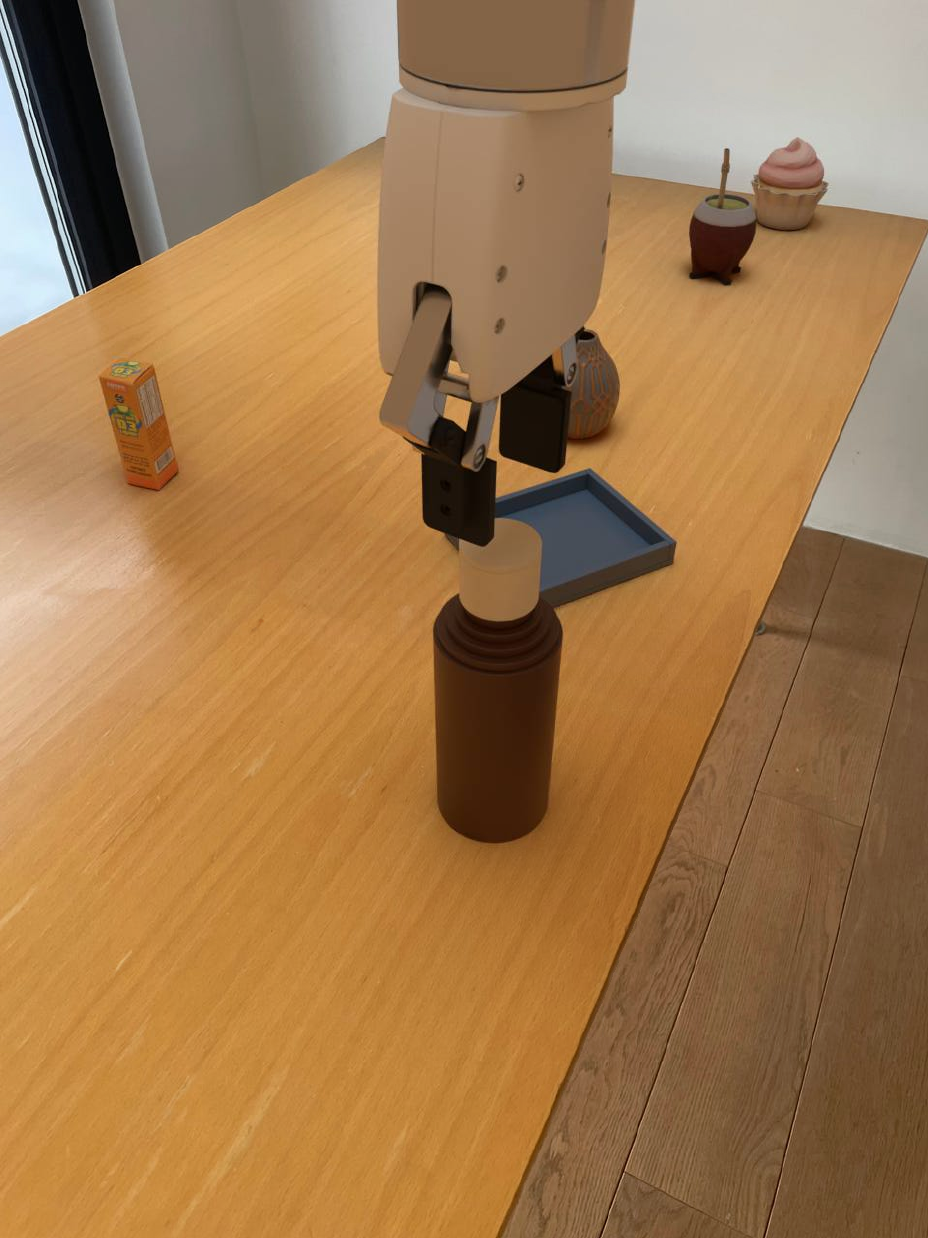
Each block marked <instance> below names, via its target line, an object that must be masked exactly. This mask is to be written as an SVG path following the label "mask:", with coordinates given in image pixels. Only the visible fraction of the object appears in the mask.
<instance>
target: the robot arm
mask: <svg viewBox="0 0 928 1238" xmlns="http://www.w3.org/2000/svg"><path fill="white" fill-rule="evenodd" d="M635 6H636V0H396V23H397V24H396V26H397V28H396V29H397V56H398V57H397V60H398V83H399V84H400V85H401V88H400V89H398V90H397V91H395V92H393V93H392V95H391V99H390V100H391V102H390V106H389V112H388V118H387V124H386V131H385V139H384V146H383V147H384V148H383V156H382V165H381V173H380V174H381V176H380V190H379V192H380V193H379V203H378V204H379V205H378V231H377V265H376V267H377V269H376V271H377V272H376V274H377V275H376V277H377V278H376V281H377V282H376V285H377V286H376V307H377V308H376V310H377V312H376V314H377V344H378V346H377V347H378V355H379V362H380V366H381V369H382V371H383V373H384V374H385V375H387V376H390V377H391V378H390V381H389V384H388V387H387V390H386V393H385V394H384V398H383V401H382V403H381V406H380V409H379V416H378V419H379V423H380V424H381V425H382V426H383V427H385V428H387V429H389V430H390V431H392V432H394V433H395V434H397V435H399V436H401V437H402V438H403V439H404V440H405V441H406V442H408V443H409V444H410V445H411V446H412V449H413V451H414V452H416V453H418V454H420V456H421V457H420V458H421V460H420V461H421V462H420V463H421V464H420V465H421V509H422V512H421V513H422V516H421V517H422V521H423V524H424V525H426V527H428V528H429V529H432V530H435V531H437V532H440V533H442V534H444V535H445V534H448V535H451V536H453V537H456V538H459V539H461V540H464V541H467V542H469V543H472V544H475V545H477V546H480V547H485V546H487V544H488V543H489V542H490V541H491V540H492V539H493V538H494V527H495V501H496V498H497V497H496V496H497V474H498V473H497V471H498V470H497V469H498V461H497V460H495V459H493V458H490V457H488V453H489V448H490V443H491V439H492V434H493V429H494V424H495V421H496V414H497V409H498V405H500V407H499V425H498V427H499V428H498V429H499V430H498V453H499V455H500V456H501V457H503V458H505V459H508V460H511V461H514V462H516V463H520V464H522V465H526V466H529V467H531V468H536V469H538V470H541V471H545V472H547V473H551V474H557V473H559V472H560V471H561V470H562V469H563V468H564V467H565V465H566V459H567V450H568V449H567V448H568V439H569V438H568V427H569V416H570V405H571V394H572V392H571V391H568V390H565V389H562V386H565V387H570V386H571V385H572V384H573V382H574V381H575V378H576V375H577V372H578V358H577V348H576V345H577V342H578V340H579V337H580V335H581V333H582V332H583V331H584V330H585V329H586V327H585V325H586V324H587V323H588V321H589V320H590V318H591V317H592V316H593V314H594V312H595V310H596V308H597V305H598V303H599V298H600V295H601V290H602V283H603V277H604V270H605V263H606V254H607V248H608V247H607V246H608V236H609V224H610V210H611V195H612V176H613V156H614V154H613V153H614V120H615V119H614V116H615V114H614V112H615V111H614V109H615V108H614V107H615V106H614V104H615V100H614V99H615V97H616V96H618V95H621V94H622V93H623V91H624V90H625V89H626V88H627V83H628V82H627V81H628V73H629V72H628V71H629V62H630V55H631V45H632V35H633V27H634V16H635ZM451 361H452V362H455V363H457V364H458V368H459V370H460V373H461V374H465V375H468V377H464V376H461V375H457V374H455V373H451V372H449V368H450V362H451ZM448 396H450V397H453V398H456V399H459V400H461V401H464V402H465V401H466V402H468V403H470V406H469V407H470V408H469V413H468V418H467V424H466V428H465V429H464V428H463V427H461V426H460V425H459V424H458V423H457V422H455V421H454V420H452V419H450V418H446V417H444V413H445V410H446V409H445V408H446V403H447V398H448ZM499 399H500V400H499ZM499 402H500V403H499Z"/></svg>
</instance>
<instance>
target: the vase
mask: <svg viewBox="0 0 928 1238" xmlns="http://www.w3.org/2000/svg"><path fill="white" fill-rule="evenodd" d="M576 348H577V358H578V372H577V375H576V378H575V381H574V382H573V384H572V385H571V386H570V387H565V386H562V389H565V390H568V391H571V392H572V394H571V405H570V416H569V427H568V438H567V439H572V440H585V439H589V438H592V437H594V436H596V435H598V433H600V432H602V431H603V430H604V429H605V428H607V426H608V425H609V424H610V422H611V421H612V420H613V418H614V416H615V414H616V411H617V408H618V404H619V400H620V393H621V392H620V391H621V384H620V383H621V382H620V375H619V371H618V368H617V365H616V364H615V361H614V360H613V358H612V357H611V356H610V354H609V353H608V351H607V349H606V348H605V347H604V345H603V344H602V342H601V339H600V336H599V334H598V333H597V331H595V330H593V329H589V328H585V330H584V331H583V332H582V333H581V335H580V337H579V340H578V342H577V345H576Z"/></svg>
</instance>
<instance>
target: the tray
mask: <svg viewBox="0 0 928 1238" xmlns="http://www.w3.org/2000/svg"><path fill="white" fill-rule="evenodd" d="M495 518H506V519H513V520H517V521H520V522H523V523H525V524H527V525H529V526H531V527H532V528H533V529H534V530H536V531H537V533H538V534H539V535H540V537H541V540H542V554H541V569H540V584H539V596H541V597H542V598H544V599H545V600H546V601H547V602H548V603H549V604H550V605H551V606H552V608H553V609H555V608H557V607H560V606H562V605H564V604H568V603H571V602H573V601H576V600H578V599H581V598H583V597H584V598H585V597H587V596H589V595H592V594H595V593H597V592H601V591H602V590H605V589H608V588H611V587H613V586H616V585H618V584H621V583H624V582H627V581H629V580H632V579H635V578H638V577H640V576H643V575H645V574H648V573H652V572H653V571H656V570H658V569H662V568H664V567H667V566H670V565H672V564H674V560H675V554H676V549H677V544H678V541H677V540H675V539H674V538H673V537H672V536H671V535H669V534H668V533H667V532H666V531H665V530H664V529H662V528H661V526H659V525H658V524H657V523H655V522H654V521H653V520H652V519H651V518H650V517H648V516H647V515H646V514H645V513H644V512H643V511H641V510H640V509H639V508H637V506H635V505H634V504H633V503H632V502H631V501H630V500H628V499H627V498H626V497H625V496H624V495H623V494H622V493H620V492H619V491H618V490H617V489H616V488H615V487H613V486H612V485H611V484H610V483H609V482H607V480H605V479H604V478H603V477H601V476H600V474H598V473H596V471H595V470H593V469H592V468H591V467H589V468H585V469H582V470H578V471H576V472H573V473H569V474H566V475H563V476H560V477H558V478H557V477H556V478H554V479H551V480H548V481H545V482H542V483H538V484H536V485H532V486H529V487H526V488H523V489H520V490H515V491H513V492H510V493H507V494H504V495H501V496H497V497H496V501H495ZM444 536H445V537H446V539H448V541H449V542H451V544H452V545H453V546H454V547H455V548H456V550H458V551H459V538H456V537H453V536H451V535H448V534H445V533H444Z"/></svg>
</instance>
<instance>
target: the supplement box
mask: <svg viewBox="0 0 928 1238" xmlns="http://www.w3.org/2000/svg"><path fill="white" fill-rule="evenodd" d="M98 379H99V382H100V386H101V390H102V395H103V398H104V401H105V405H106V409H107V413H108V416H109V420H110V424H111V427H112V431H113V433H114V438H115V439H114V440H115V443H116V445H117V450H118V454H119V457H120V460H121V464H122V467H123V471H124V476H125V479H126V483H127V484H128V485H134V486H137V487H142V488H148V489H151V490H156V491H159V490H161V489H162V488H163V487H164V486H166V484H167V483H168V482H169V481H171V479H172V478H173V477H174V476H175V475H176V474H177V472H179V465H178V461H177V458H176V457H177V456H176V454H175V450H174V445H173V441H172V438H171V433H170V428H169V424H168V420H167V416H166V412H165V407H164V403H163V399H162V395H161V390H160V385H159V382H158V378H157V373H156V368H155V366H154V364H153V363H152V362H142V361H137V360H132V359H128V358H127V357H122V356H121V357H118V358H116V360H115V361H114V362H112V363H111V364H110V365H109V366H107V367H106V368H105V369H104V370H103V371H102V372H101V373H100V374H98Z"/></svg>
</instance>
